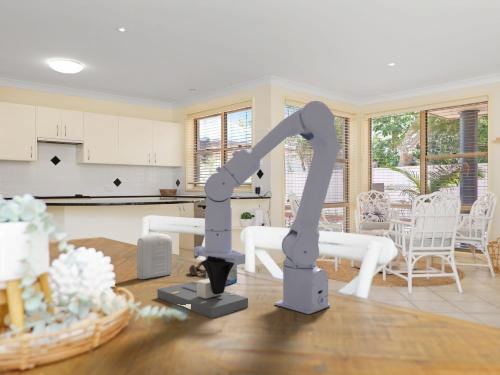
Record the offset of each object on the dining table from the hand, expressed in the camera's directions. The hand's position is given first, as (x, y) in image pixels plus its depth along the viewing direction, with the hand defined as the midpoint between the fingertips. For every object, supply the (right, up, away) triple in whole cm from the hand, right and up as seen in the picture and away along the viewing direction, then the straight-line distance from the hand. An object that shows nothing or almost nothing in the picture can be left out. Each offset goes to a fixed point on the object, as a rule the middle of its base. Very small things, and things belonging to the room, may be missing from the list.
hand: (218, 293), depth 85 cm
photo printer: (-20, -3, +29) cm, 36 cm away
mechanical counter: (-5, -3, +33) cm, 34 cm away
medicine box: (-1, -3, +21) cm, 21 cm away
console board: (-4, -3, +4) cm, 7 cm away
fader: (-2, -1, +2) cm, 3 cm away
